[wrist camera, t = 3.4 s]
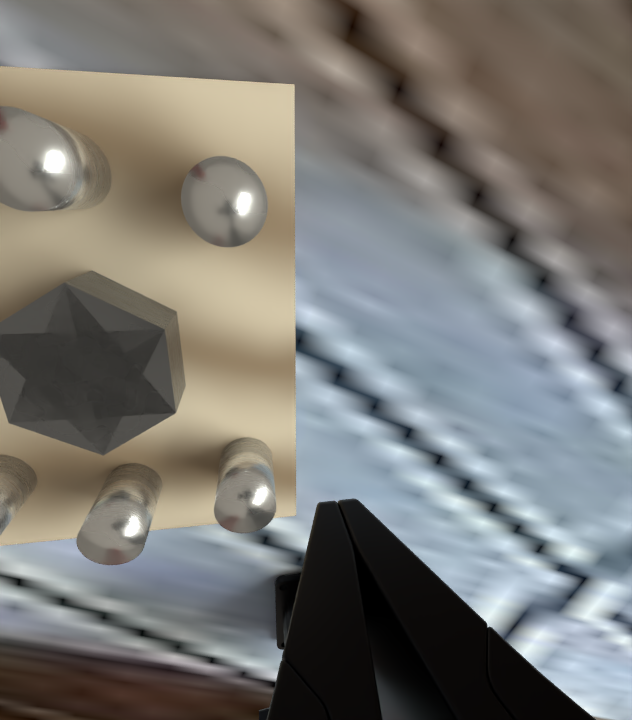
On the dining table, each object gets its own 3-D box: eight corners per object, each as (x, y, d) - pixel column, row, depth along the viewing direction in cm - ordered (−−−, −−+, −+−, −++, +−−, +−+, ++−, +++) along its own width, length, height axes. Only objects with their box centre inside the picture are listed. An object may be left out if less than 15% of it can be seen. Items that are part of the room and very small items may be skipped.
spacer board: (293, 500, 23) (295, 515, 22) (9, 527, 20) (-5, 546, 19) (291, 93, 15) (294, 84, 14) (-161, 66, 13) (-199, 54, 12)
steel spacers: (273, 493, 21) (277, 546, 17) (-11, 519, 19) (-65, 585, 15) (262, 137, 14) (265, 118, 11) (-166, 118, 12) (-311, 90, 9)
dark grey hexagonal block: (189, 419, 18) (181, 449, 16) (51, 427, 17) (21, 461, 15) (171, 269, 16) (158, 281, 13) (7, 271, 15) (-37, 283, 13)
